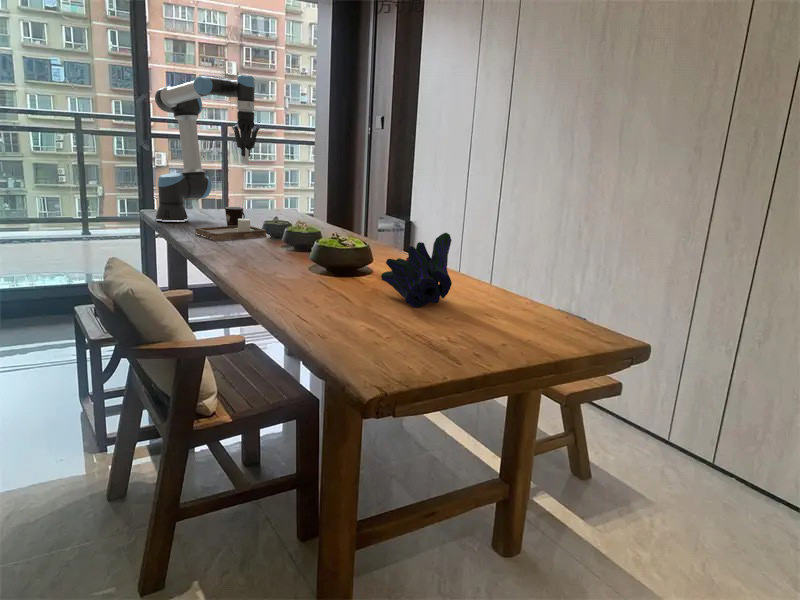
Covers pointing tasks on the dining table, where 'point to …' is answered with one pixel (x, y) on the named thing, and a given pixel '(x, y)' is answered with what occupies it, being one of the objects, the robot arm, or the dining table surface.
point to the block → (243, 224)
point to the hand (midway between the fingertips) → (245, 163)
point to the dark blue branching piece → (421, 273)
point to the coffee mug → (233, 215)
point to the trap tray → (229, 232)
